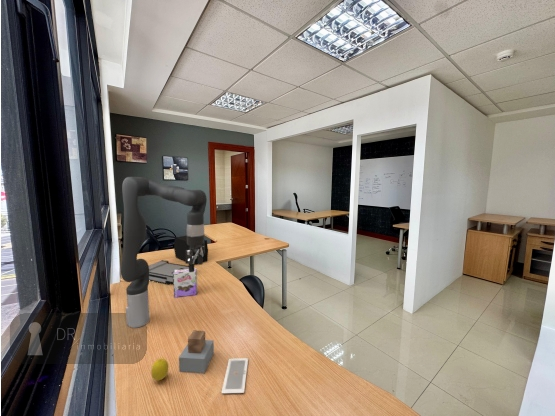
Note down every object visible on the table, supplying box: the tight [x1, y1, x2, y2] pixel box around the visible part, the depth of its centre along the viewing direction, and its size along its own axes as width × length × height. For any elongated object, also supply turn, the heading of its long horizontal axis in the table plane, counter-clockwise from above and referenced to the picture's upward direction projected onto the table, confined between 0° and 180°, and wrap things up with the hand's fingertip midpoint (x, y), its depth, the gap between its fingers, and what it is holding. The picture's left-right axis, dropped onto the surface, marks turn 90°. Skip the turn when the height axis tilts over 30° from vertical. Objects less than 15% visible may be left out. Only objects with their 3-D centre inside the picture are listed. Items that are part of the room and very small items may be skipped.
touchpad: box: [220, 357, 249, 394], centre depth 83 cm, size 8×15×2 cm, turn 2°
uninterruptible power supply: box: [173, 235, 209, 266], centre depth 206 cm, size 16×34×20 cm, turn 51°
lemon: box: [150, 358, 169, 381], centre depth 81 cm, size 6×6×8 cm
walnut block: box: [187, 329, 206, 354], centre depth 89 cm, size 5×5×6 cm
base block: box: [178, 339, 215, 374], centre depth 89 cm, size 10×10×6 cm
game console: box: [148, 259, 189, 286], centre depth 168 cm, size 21×32×8 cm, turn 71°
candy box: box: [172, 267, 198, 299], centre depth 142 cm, size 14×6×16 cm, turn 105°
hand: (196, 267), depth 102 cm, fingers open, 8 cm apart
